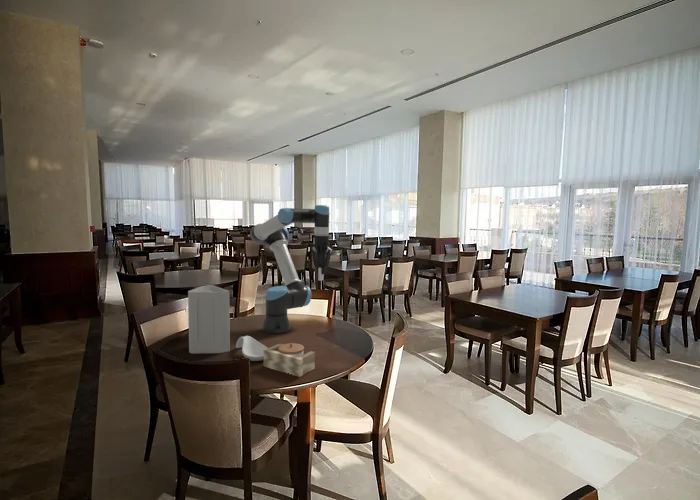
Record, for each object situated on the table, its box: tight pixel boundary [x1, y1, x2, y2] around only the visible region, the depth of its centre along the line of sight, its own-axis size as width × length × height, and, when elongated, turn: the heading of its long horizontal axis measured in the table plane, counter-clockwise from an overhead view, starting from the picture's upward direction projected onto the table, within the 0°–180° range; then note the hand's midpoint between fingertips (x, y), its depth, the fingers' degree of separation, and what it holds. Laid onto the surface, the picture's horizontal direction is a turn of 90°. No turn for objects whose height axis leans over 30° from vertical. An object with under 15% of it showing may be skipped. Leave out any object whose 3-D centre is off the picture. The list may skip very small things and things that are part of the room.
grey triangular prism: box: [187, 284, 231, 354], centre depth 177 cm, size 19×15×28 cm
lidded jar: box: [278, 342, 305, 357], centre depth 161 cm, size 11×11×9 cm
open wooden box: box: [263, 343, 316, 378], centre depth 159 cm, size 19×10×7 cm, turn 59°
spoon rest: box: [235, 335, 268, 362], centre depth 172 cm, size 24×12×7 cm, turn 39°
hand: (320, 280), depth 200 cm, fingers closed
